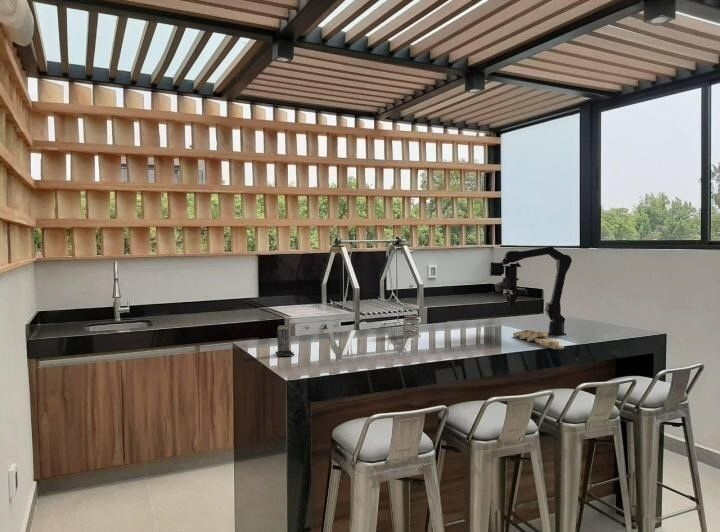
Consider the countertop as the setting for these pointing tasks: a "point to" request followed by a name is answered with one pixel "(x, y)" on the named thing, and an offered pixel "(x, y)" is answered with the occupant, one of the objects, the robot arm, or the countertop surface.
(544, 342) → the domino
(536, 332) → the domino
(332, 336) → the countertop surface
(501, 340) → the countertop surface
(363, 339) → the countertop surface
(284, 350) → the gray block on base
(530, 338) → the domino
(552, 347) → the domino
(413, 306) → the french press
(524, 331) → the domino
